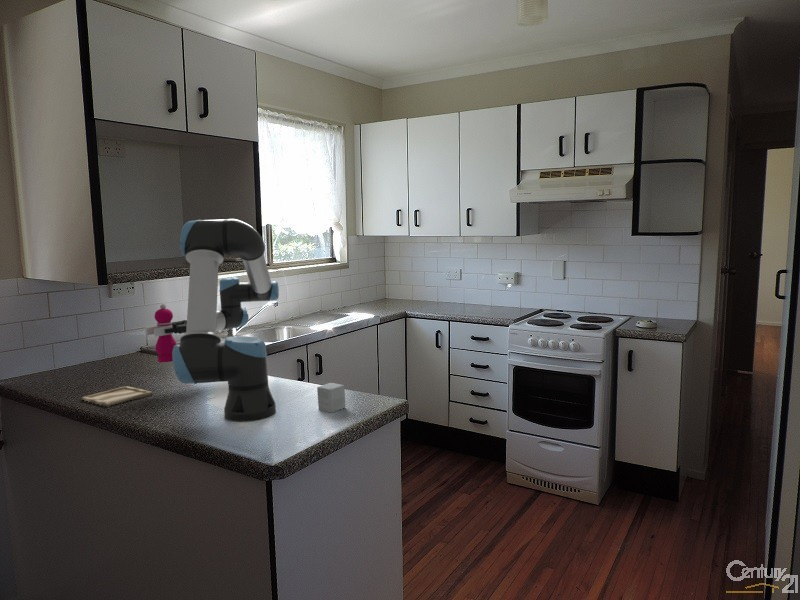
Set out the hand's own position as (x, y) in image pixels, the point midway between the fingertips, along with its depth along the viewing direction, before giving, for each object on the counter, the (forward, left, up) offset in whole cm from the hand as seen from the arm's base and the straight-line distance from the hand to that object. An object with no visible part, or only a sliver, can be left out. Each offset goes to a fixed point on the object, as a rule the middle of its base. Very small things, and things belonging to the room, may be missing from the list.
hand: (150, 331), depth 204 cm
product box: (-54, -42, -22) cm, 72 cm away
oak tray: (+4, +12, -22) cm, 25 cm away
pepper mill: (+2, -5, -11) cm, 12 cm away
